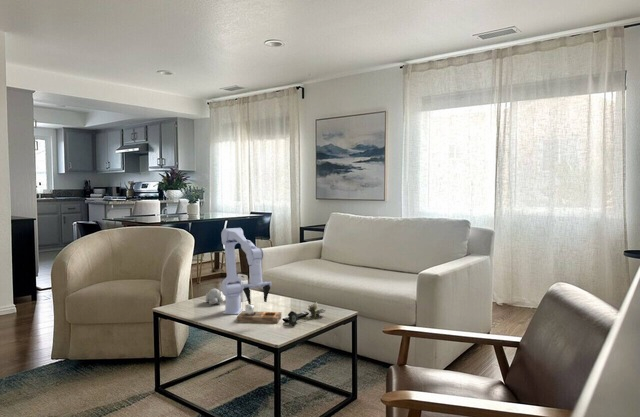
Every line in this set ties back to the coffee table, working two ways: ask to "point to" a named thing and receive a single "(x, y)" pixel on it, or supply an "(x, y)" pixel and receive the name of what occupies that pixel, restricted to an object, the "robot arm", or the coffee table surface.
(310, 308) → the artificial flower
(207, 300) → the round bodied animal figurine
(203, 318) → the coffee table surface
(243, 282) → the ink cartridge box
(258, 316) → the wooden board with recesses
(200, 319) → the coffee table surface
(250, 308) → the steel peg
